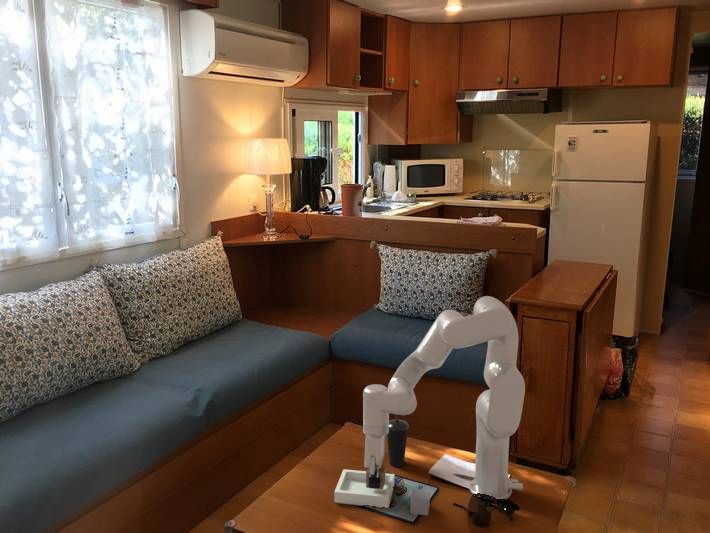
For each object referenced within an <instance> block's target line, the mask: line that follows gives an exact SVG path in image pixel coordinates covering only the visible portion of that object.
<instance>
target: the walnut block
mask: <svg viewBox="0 0 710 533" xmlns="http://www.w3.org/2000/svg"><path fill="white" fill-rule="evenodd" d="M375 466H378V465H376V464H375ZM369 468H370V464H369V466H368V467H366V488H369ZM375 471H376V472H377V469H375ZM385 473H386V465H385V464H384V465H383V464H382V465H381V468H379V476H380V488H379V489H383V487H384V484H385Z"/></svg>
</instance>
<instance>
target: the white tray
mask: <svg viewBox="0 0 710 533" xmlns="http://www.w3.org/2000/svg"><path fill="white" fill-rule="evenodd" d="M366 471H367V470H366ZM366 471H365V470H355V469H347V468H345V469H343V470H342V472H341V474H340V477H339V479H338V482H337V485H336V487H335V489H334V492H333V494H334V500H333V501H334V503H336V504H343V505H344V504H345V505H354V506H363V505H369V506H368V507H372V506H376V507H375V508H382V507H385V508H384V509H389V507H390V504H391V500H392V495H393V492H394V488H393V487H395V473H387V472H385V484H384V487H383V489H372V488H366Z"/></svg>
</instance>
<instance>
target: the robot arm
mask: <svg viewBox="0 0 710 533" xmlns="http://www.w3.org/2000/svg"><path fill="white" fill-rule="evenodd" d="M518 330H519V329H518V326H517V323H516V319H515V318H514V316H513V314H512V312H511V310H510V309H509V308H508V307H507V306H506V305H505V304H504V303H503V302H502V301H500V300H499V299H497V298H495V297H493V296H489V295H485V296H481V297H479V298H478V299H477V300H476V302H475V304H474V306H473V314H471V315H468V316H463V314H462V313H460V312H458V311H457V310H455V309H445V310H444V311H442V312H441V313H440V314H439V315H438V316H437V317H436V318H435V320H434V322H433V323H432V325H431V326H430V328H429V330H428V331H427V332H426V334H425V336H424V337H423V339H422V340H421V341H420V343H419V345H418V346H417V348H416V349H415V350H414V351H413V352H412V353H410V355H409V356H407V357H406V358H405V359H404V360H403V361H402V362H401V364H400V365H399V366H398V368H397V369H396V371H395V373H394V374H393V375H392V377H391V379H390V380H389V383H388V385H387V387H386V386H385V385H383V384H379V383H378V384H377V383H376V384H375V383H374V384H370V385H367V386H366V387H365V388H364V389H363V391H362V401H363V402H362V405H363V407H362V408H363V409H362V410H363V411H362V412H363V413H362V415H363V416H362V418H363V419H362V422H363V423H362V425H363V428H362V429H363V430H362V432H363V434H364V435H365V442H364V443H365V444H364V462H363V463H364V465H363V466H364V468H366V469H367V468H368V466H369V464H370V468H369V488H372V489H379V488H380V476H379V468H381V465H383V461H384V458H385V454H386V453H385V452H386V436H387V434H388V433H389V421H390V414H392V415H396V414H397V415H398V416H407V415H410V414H412V413H413V412H415V410H416V409H417V406H418V402H417V397H416V394H415V391H414V388H415V387H416V385H417V384H418V382H419V381H420V380H421V378H422V377H423V375H425V373H427V372H428V371H430V370H435V369H439V368H441V367H442V366H443V365H444V363H445V361H446V359H447V358H448V356H449V355H450V354H451V352H452V351H453V349H464V348H467V347H472V346H475V345H479V344H483V343H485V342H487V352H486V356H485V357H486V358H485V363H484V369H483V378H484V382H485V383H486V385H487V386H488V388H489V389H487V390H484V391H483V392H482V393H480V395H479V396H478V397H477V400H476V402H475V403H476V404H475V420H476V444H475V464H474V465H475V466H474V467H475V468H474V478H473V479H471V480H470V482H469V484H468V487H469V491H470V492H471V494H472V495H473V494H477V493H480V494H486V495H489V496H493V497H495V498H496V499H505V500H507V499H509V498H510V497H511V495H512V494H513V490H517V491H523V489H524V486H523V485H524V484H523V483H521V482H519V479H512V478H510V477H509V473H508V469H509V466H508V465H509V451H510V450H509V449H510V437H511V436H513V435H514V434H515V433H516V432H517V430H518V429H519V426H520V422H521V418H522V414H523V405H524V402H525V401H524V400H525V392H526V384H525V379H524V377H523V375H522V374H521V371H519V369H518V368H517V359H518V349H519V331H518ZM375 464H376V465H378V466H375ZM375 469H377V472H376V471H375Z"/></svg>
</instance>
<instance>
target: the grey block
mask: <svg viewBox="0 0 710 533" xmlns="http://www.w3.org/2000/svg"><path fill="white" fill-rule="evenodd" d="M430 493H431V491H430V489H428V490H427V489H419V488H412V489H411V494H410V510H409V511H410V512H409V513H416V514H415V515H418V514H419V515H421V516H429V512H430V496H431V494H430ZM419 515H418V516H419Z"/></svg>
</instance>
